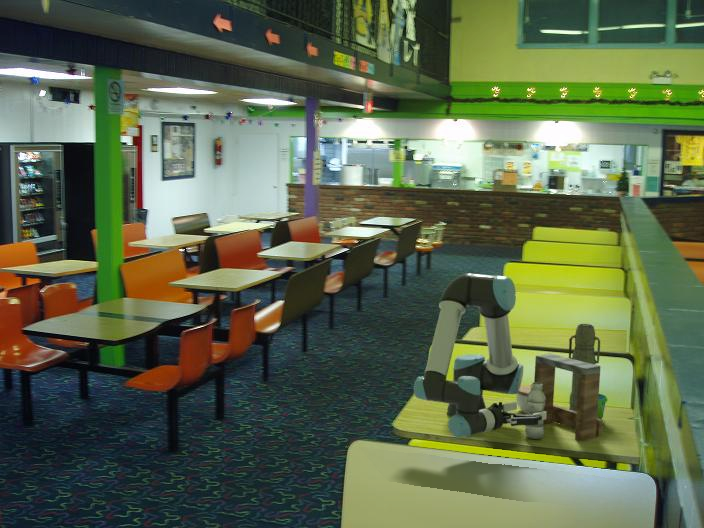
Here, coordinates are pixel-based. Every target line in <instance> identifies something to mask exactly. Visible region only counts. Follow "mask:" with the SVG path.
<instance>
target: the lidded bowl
mask: <svg viewBox="0 0 704 528" xmlns="http://www.w3.org/2000/svg"><path fill="white" fill-rule="evenodd" d="M531 387H532V384H531V385H521V386H520V389H519V391H518V393H517V394H515V398H516V402H517V407H519V409H520V410H521V412H522V413H523V412H524V414H525V415H528V406H527V395H528V394H529V392H530V391H531V390H532V388H531Z"/></svg>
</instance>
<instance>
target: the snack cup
mask: <svg viewBox="0 0 704 528" xmlns="http://www.w3.org/2000/svg"><path fill="white" fill-rule="evenodd" d="M607 402H608V396H607V395H604V394H602V393H599V398H598V413H597V418H598V419H602V420H603V417H604V413H605V408H606V407H605V406H606V403H607Z"/></svg>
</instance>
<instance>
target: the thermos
mask: <svg viewBox="0 0 704 528" xmlns="http://www.w3.org/2000/svg"><path fill="white" fill-rule="evenodd" d="M573 339H574V345H575V346H574V350H573V351H572V347H573V346H572V345H573ZM568 341H569V342H568V343H569V344H568V345H569V346H568V358H570V359H574V360H578V361H582V362H586V363H590V364H594V365H597V364H599V363H600V354H601V340H600V338H599V337H598V336H596V330H595V327H594V325H593V324H590V323H580V324H577V327H576V329H575V334H573V335H571V337H569V339H568ZM596 341H597V352H596V353H597V356H596V353H595V344H596ZM578 382H579V373H575V372H572V377H571V392H570V394H569V408H568V409H570V410H573V411H576V412H577V398H578Z"/></svg>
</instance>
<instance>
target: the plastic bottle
mask: <svg viewBox="0 0 704 528" xmlns="http://www.w3.org/2000/svg"><path fill="white" fill-rule="evenodd" d="M531 385H532V387H531V388H532V390H531V391H530V392H529V394H528V395H527V406H528V414H527V415H532V414H535V413H539V412H544V406H545V401H546V398H545V395H544V393H543V392H542V389H543V387H542V386H543V384H542V383H538V382H532V383H531ZM524 431H525V433H524V434H525V436H526V437H527V438H528V439H532V440H533V439H534V440H540V439H542V438H543V437H544V435H545V426H544V425H543V420H541V421H538V425H525V430H524Z"/></svg>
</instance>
